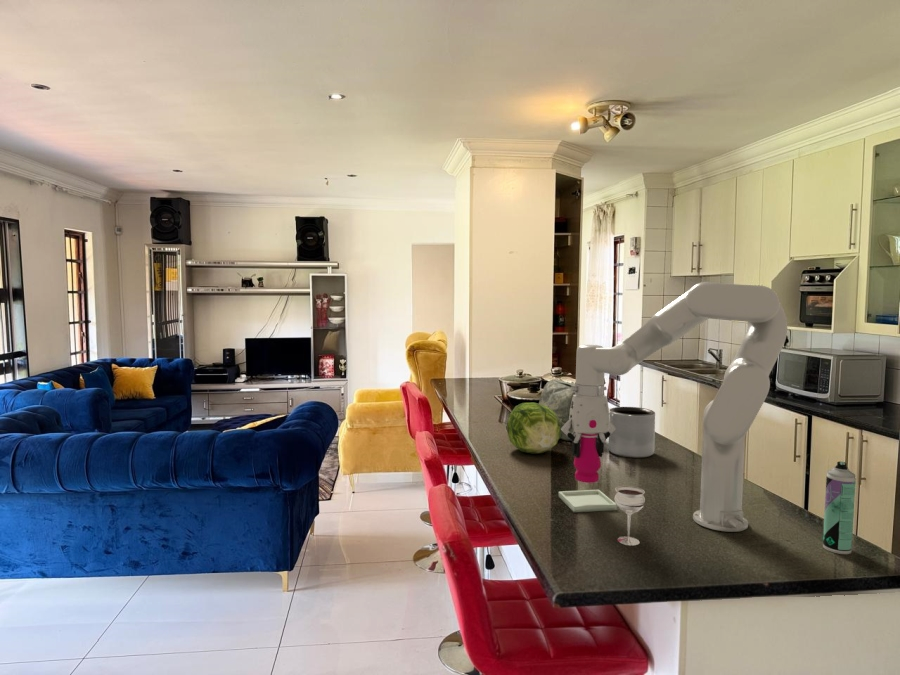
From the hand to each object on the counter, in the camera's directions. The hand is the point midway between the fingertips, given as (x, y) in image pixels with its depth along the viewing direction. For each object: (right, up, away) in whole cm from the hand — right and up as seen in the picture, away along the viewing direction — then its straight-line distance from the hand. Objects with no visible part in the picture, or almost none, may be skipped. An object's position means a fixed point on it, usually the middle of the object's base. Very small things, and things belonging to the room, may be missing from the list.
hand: (587, 455), depth 161 cm
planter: (+28, -10, +53) cm, 61 cm away
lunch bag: (+11, -8, +80) cm, 82 cm away
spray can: (+50, -16, -27) cm, 59 cm away
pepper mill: (0, -7, +1) cm, 7 cm away
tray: (0, -13, +1) cm, 13 cm away
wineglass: (+4, -15, -24) cm, 28 cm away
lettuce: (-6, -10, +53) cm, 54 cm away
